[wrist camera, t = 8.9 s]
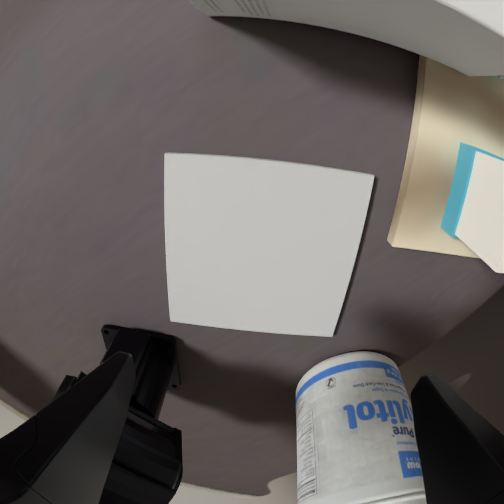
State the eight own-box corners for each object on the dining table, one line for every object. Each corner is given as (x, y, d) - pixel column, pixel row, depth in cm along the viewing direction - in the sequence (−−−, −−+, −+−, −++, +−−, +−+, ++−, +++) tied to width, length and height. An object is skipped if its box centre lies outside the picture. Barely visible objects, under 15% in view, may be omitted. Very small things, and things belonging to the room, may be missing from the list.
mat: (331, 333, 22) (332, 336, 22) (171, 317, 22) (170, 321, 22) (372, 174, 17) (374, 176, 16) (166, 152, 17) (164, 153, 16)
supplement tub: (410, 342, 23) (468, 497, 9) (380, 407, 27) (407, 532, 14) (298, 347, 23) (310, 535, 10) (288, 412, 27) (290, 551, 14)
